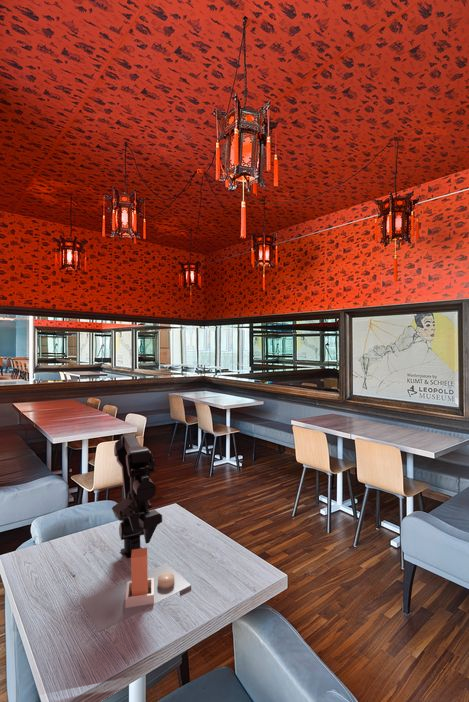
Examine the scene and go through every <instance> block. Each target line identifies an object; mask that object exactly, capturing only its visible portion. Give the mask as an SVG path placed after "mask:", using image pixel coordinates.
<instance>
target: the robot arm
mask: <svg viewBox="0 0 469 702" xmlns="http://www.w3.org/2000/svg"><path fill="white" fill-rule="evenodd" d="M113 446H114V448H113V452H114V453H113V454H114V457H115V458H116V462H117V464H118V465H119V466H120V467H121V475H122V487H123V498H122V499H121V501H119V502H118V503H116V504H115V505H113V506H112V507H111V510H112V512H113V514H114V516H115V518H116V519H117V520H118V521H120V523H119V526H118V535H119V538H120V541H123V548H121V549H120V553H121V554H122V555H124V557H125V558H126V559H131V553H132V550H133V549H140V548H143V547H141V537H142V536H144V542H145V544H149V543H150V542H151V539H152V537H153V535H154V532H156V529H157V527H158V526H159V525H160V524H161V523H163V515H162V514H161V513H160V512H158V511H157V510H156V509H152V508H153V506H152V505H153V504H152V503H150V500H151V499H153V498H154V497H155V495H156V492H157V488H156V485H155V483H154V481H152V479H151V476H150V474H153V473H154V474H155V472H156V471H155V469H156V464H155V463H156V462H155V460H154V459H155V458H154V454H153V452H151V451H150V449H149V448H148V447H147V446H141V443H140V442H139V440H138V438H137V435H136V434H135V433H127V434H123V435H121V437H120V438H119V439H118V440H117V441H115V443H114V445H113ZM149 509H152V510H149Z"/></svg>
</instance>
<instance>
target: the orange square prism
mask: <svg viewBox="0 0 469 702" xmlns="http://www.w3.org/2000/svg"><path fill="white" fill-rule="evenodd" d="M130 564H131V565H130V569H131V570H130V571H131V572H130V573H131V575H130V576H131V578H130V579H132V597H133V596H139V595H145V594H148V571H149V570H148V569H149V568H148V547H142V548H140V549H133V550H132V553H131V558H130Z"/></svg>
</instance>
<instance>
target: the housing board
mask: <svg viewBox="0 0 469 702" xmlns="http://www.w3.org/2000/svg"><path fill="white" fill-rule="evenodd" d="M191 589H192V585H191V583H189V582H188V581H187V580H186V579H185V578H184V577H183V576H182V575H181V574H180V573H178V571H176V570H175V568H173V567H171V565H169V564H168V562H166V563H163V564H161V565H159V566H157V567H154V568H152V569H150V570H148V594H145V595H139V596H133V597H132V578H130V579H128V580H126V581H123V582H121V583H118V584H117V585H115V586H112V587H110V588H108V589H105V590H103V591H100V592H98V593H95V594H94V595H91V596H90V597H87V598H85V599H82V600H81V601H80V603H81V604H82V607H83V608H84V610H85V611H86V614H88V616H89V618H90V619H91V622H92V623H93V625H94V626H95V628H96V630H97V632H98V633H100V632H102V631H105V630H106V629H108V628H110V627H113V626H114V625H117V624H118V623H121V622H122V621H124V620H126V619H128V618H130V617H132V616H134V615H136V614H138V613H140V612H142V611H144V610H146V609H148V608H149V607H152V606H154V605H156V604H157V603H159V602H161V601H164V600H165V599H167V598H169V597H171V596H173V595H175V594H177V593H178V592H179V595H180V594H183V593H185V592H187V591H189V590H191Z"/></svg>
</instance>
